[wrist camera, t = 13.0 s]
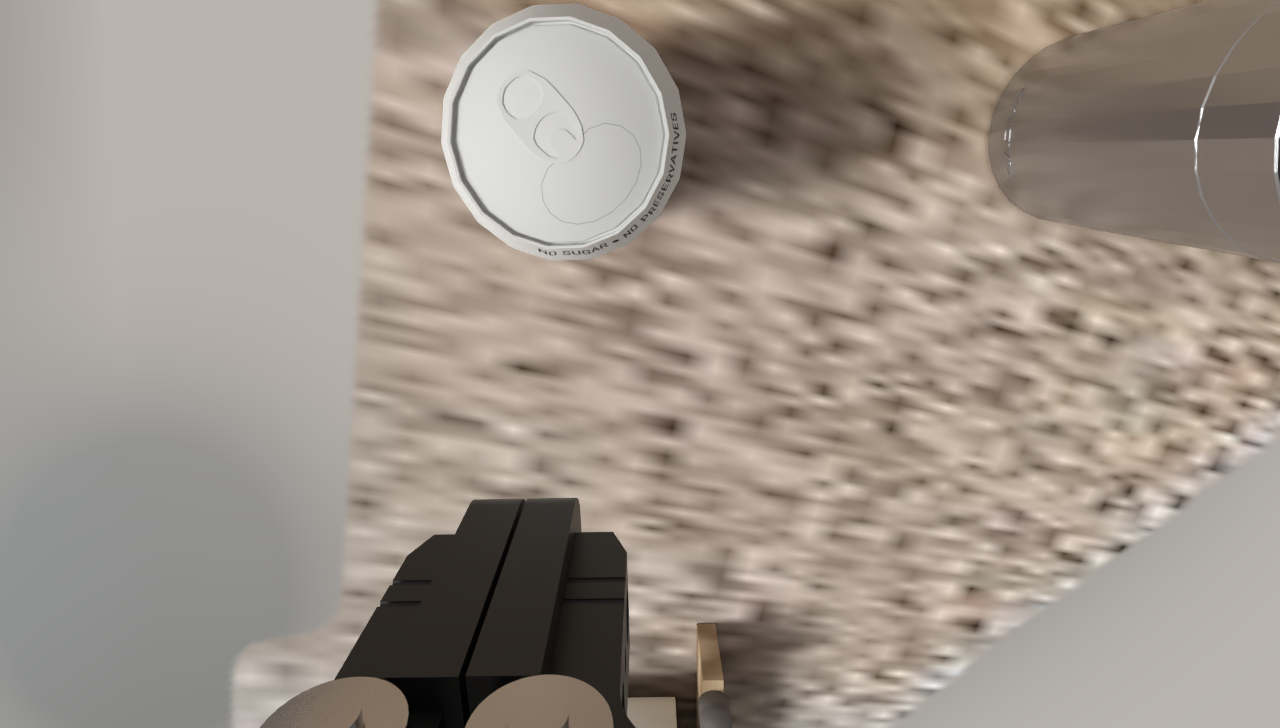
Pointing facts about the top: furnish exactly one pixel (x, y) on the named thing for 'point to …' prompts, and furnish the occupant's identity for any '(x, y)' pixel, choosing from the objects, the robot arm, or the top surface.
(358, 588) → the top surface
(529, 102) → the supplement can
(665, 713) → the roll
